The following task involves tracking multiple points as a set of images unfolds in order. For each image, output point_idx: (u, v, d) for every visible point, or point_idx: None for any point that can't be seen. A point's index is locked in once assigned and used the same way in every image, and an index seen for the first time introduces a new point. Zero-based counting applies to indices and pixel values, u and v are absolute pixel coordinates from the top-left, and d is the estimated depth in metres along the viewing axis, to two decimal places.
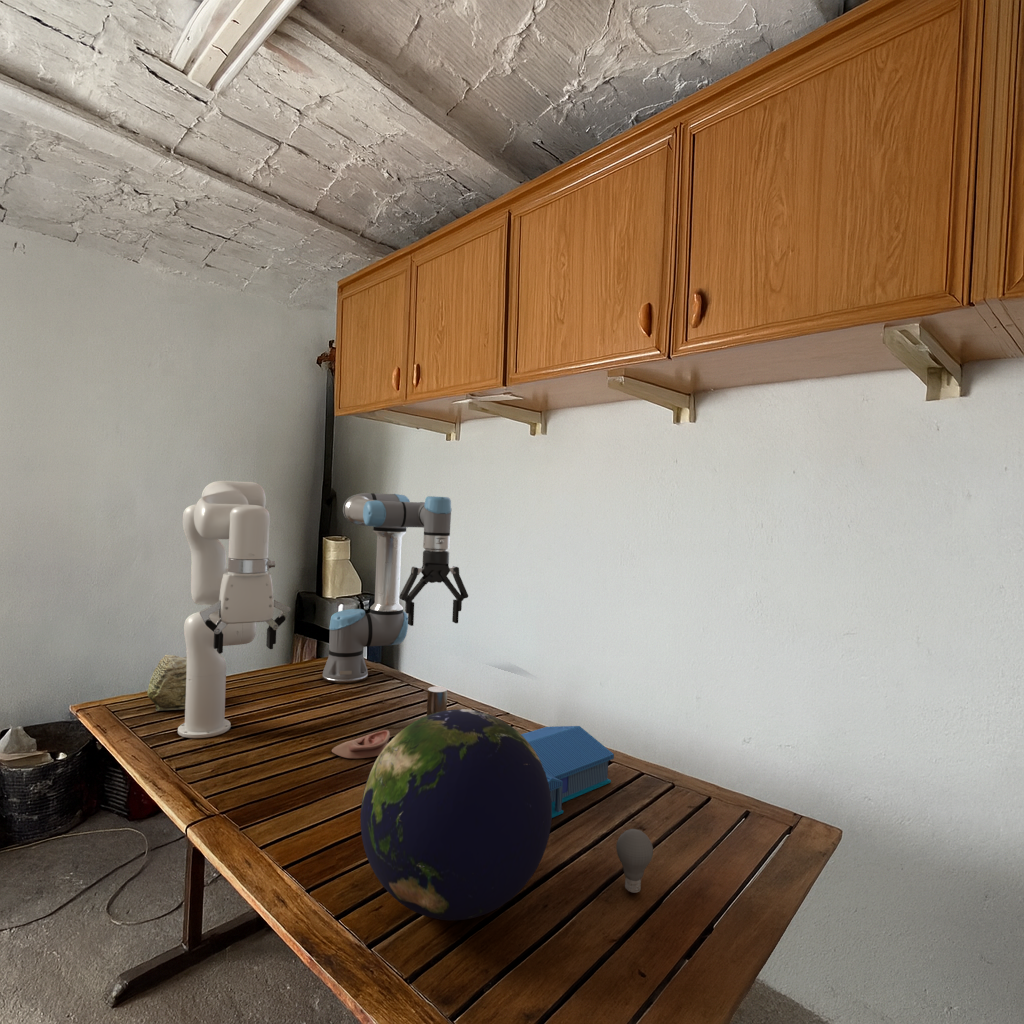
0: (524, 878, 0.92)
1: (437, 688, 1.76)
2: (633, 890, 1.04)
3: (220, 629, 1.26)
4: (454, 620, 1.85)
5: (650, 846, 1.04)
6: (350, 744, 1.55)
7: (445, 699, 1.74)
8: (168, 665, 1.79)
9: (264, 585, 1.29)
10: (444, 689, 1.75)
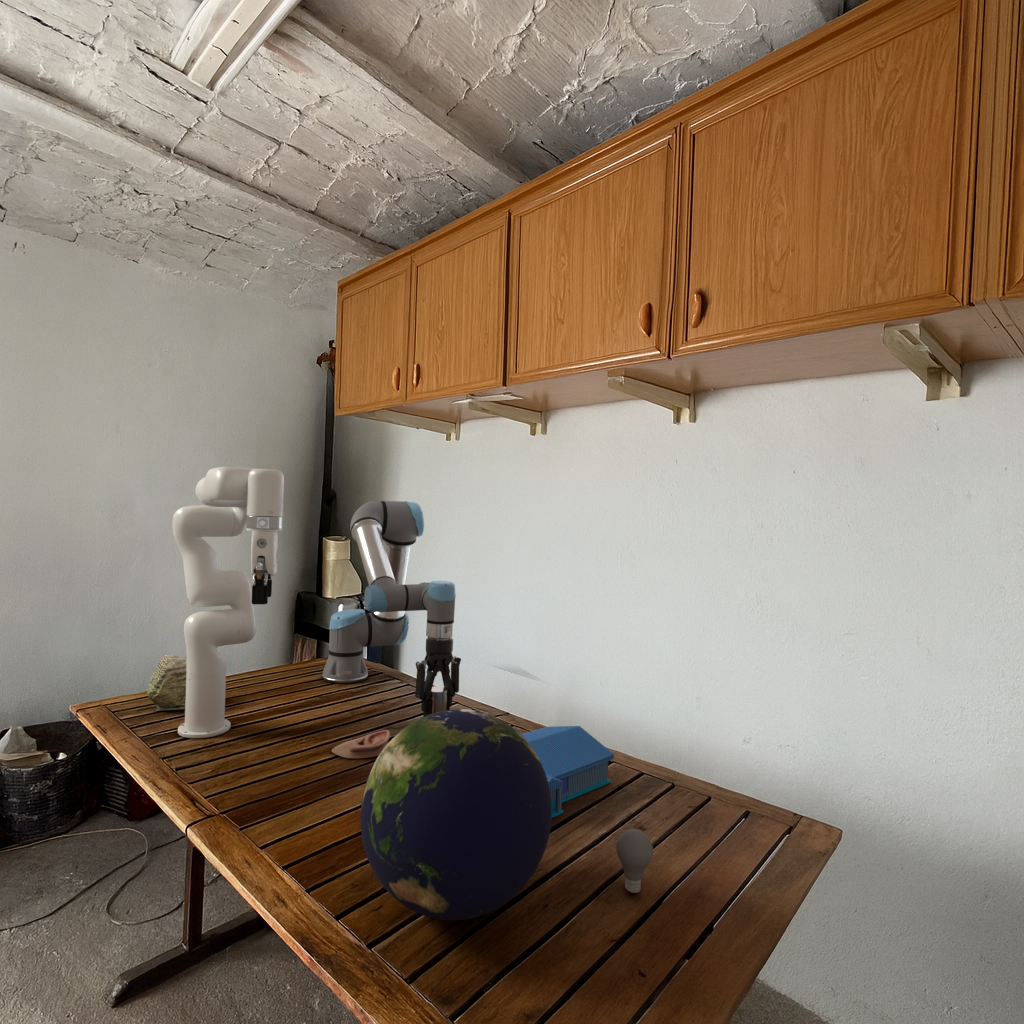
0: (524, 878, 0.92)
1: (437, 688, 1.76)
2: (633, 890, 1.04)
3: None
4: None
5: (650, 846, 1.04)
6: (350, 744, 1.55)
7: (445, 699, 1.74)
8: (168, 665, 1.79)
9: (251, 540, 1.38)
10: (444, 689, 1.75)
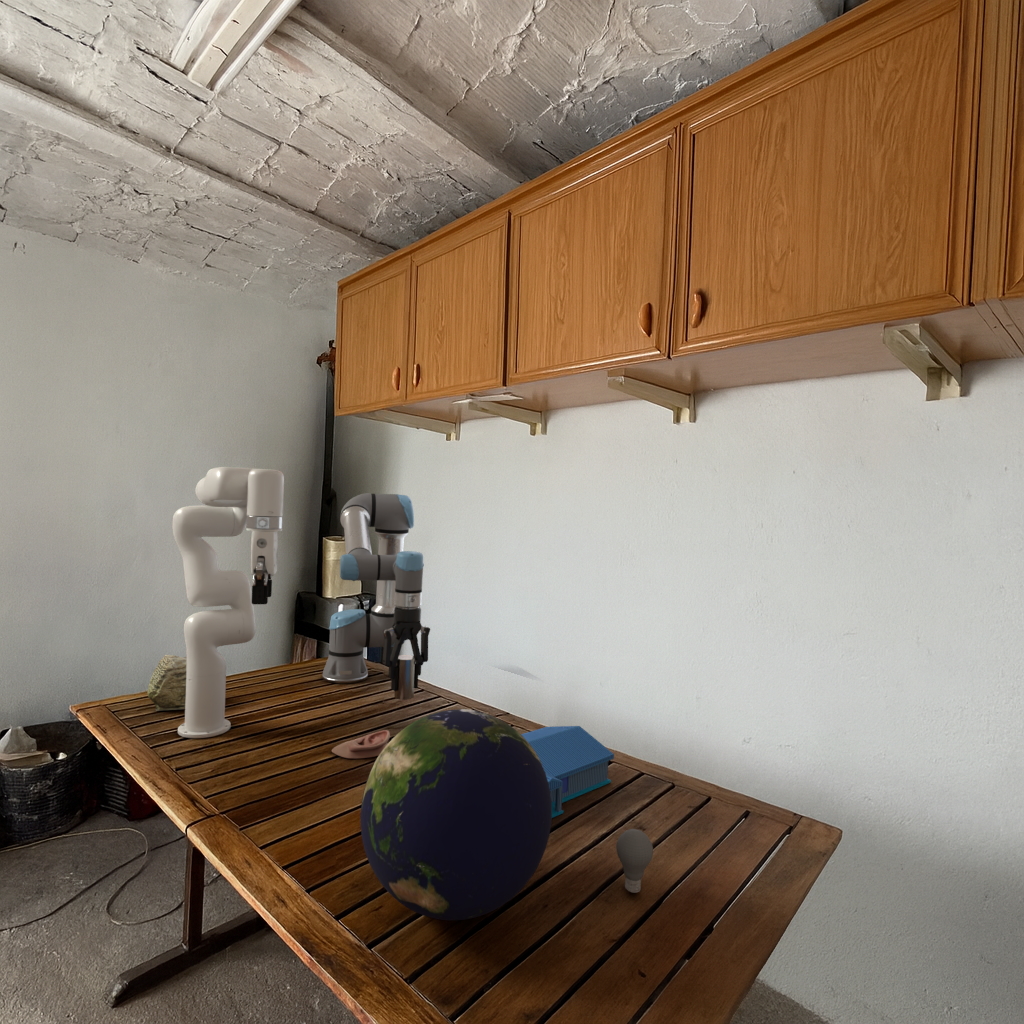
0: (524, 878, 0.92)
1: (406, 656, 1.79)
2: (633, 890, 1.04)
3: None
4: None
5: (650, 846, 1.04)
6: (350, 744, 1.55)
7: (412, 667, 1.77)
8: (168, 665, 1.79)
9: (251, 540, 1.38)
10: (412, 657, 1.78)
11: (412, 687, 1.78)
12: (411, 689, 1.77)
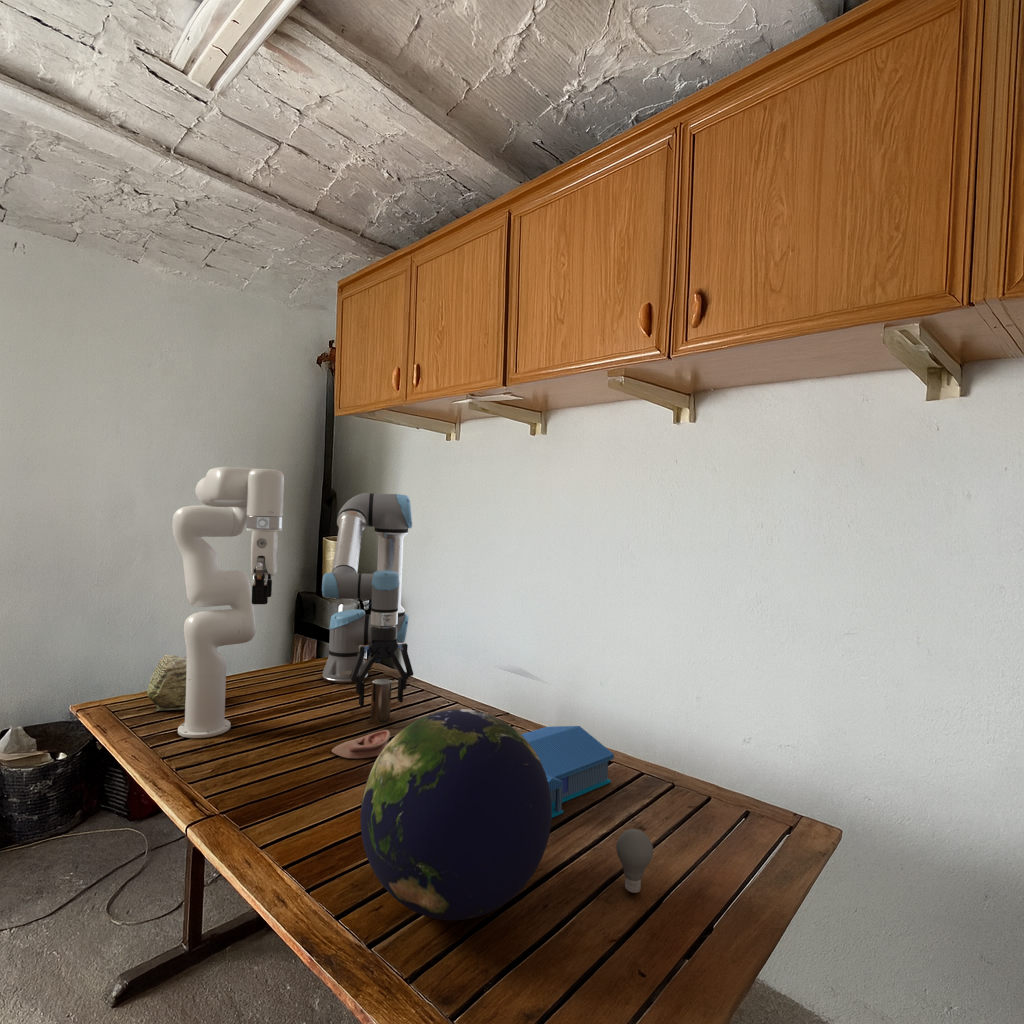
0: (524, 878, 0.92)
1: (382, 680, 1.81)
2: (633, 890, 1.04)
3: None
4: (399, 698, 1.82)
5: (650, 846, 1.04)
6: (350, 744, 1.55)
7: (387, 691, 1.79)
8: (168, 665, 1.79)
9: (251, 540, 1.38)
10: (387, 682, 1.80)
11: (387, 711, 1.79)
12: (386, 713, 1.79)
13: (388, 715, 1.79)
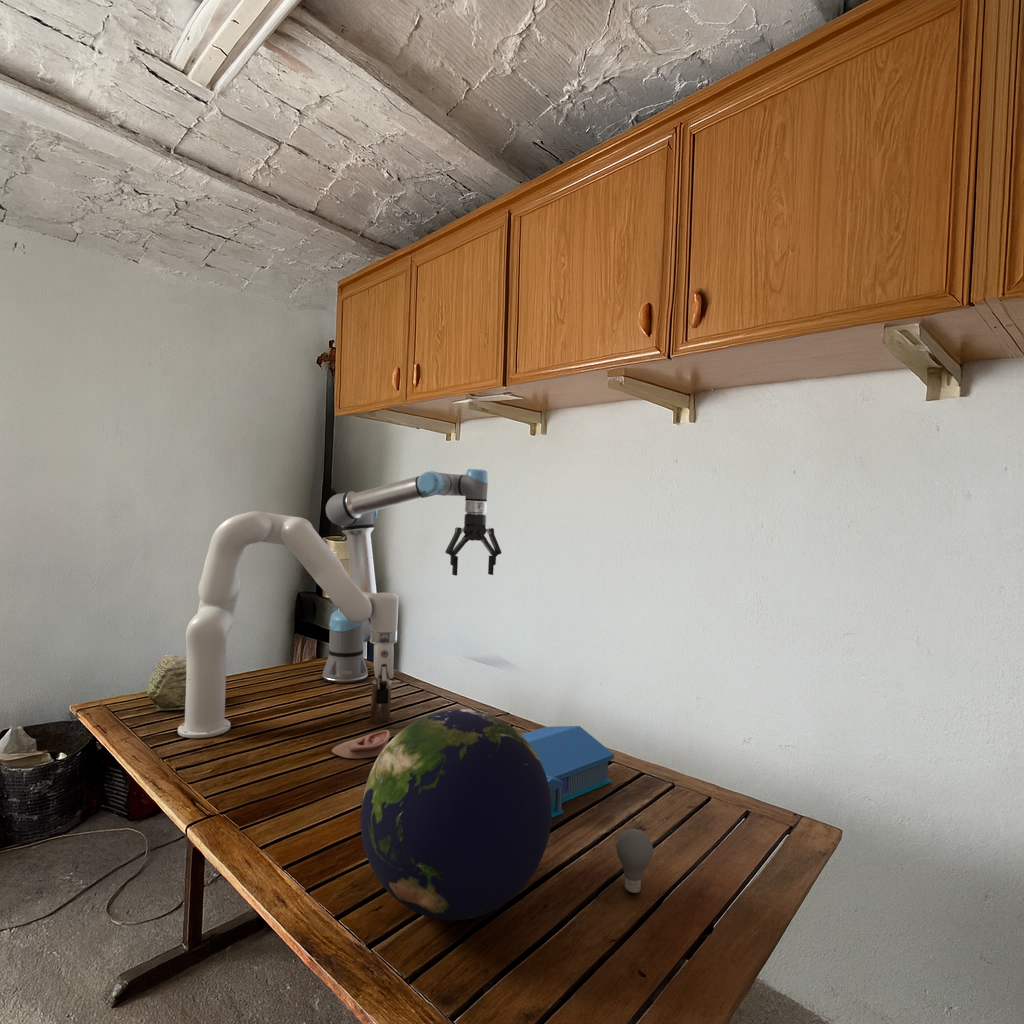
0: (524, 878, 0.92)
1: None
2: (633, 890, 1.04)
3: None
4: (490, 572, 2.23)
5: (650, 846, 1.04)
6: (350, 744, 1.55)
7: None
8: (168, 665, 1.79)
9: (375, 651, 1.77)
10: (388, 682, 1.80)
11: (387, 711, 1.79)
12: (386, 713, 1.79)
13: (388, 715, 1.79)
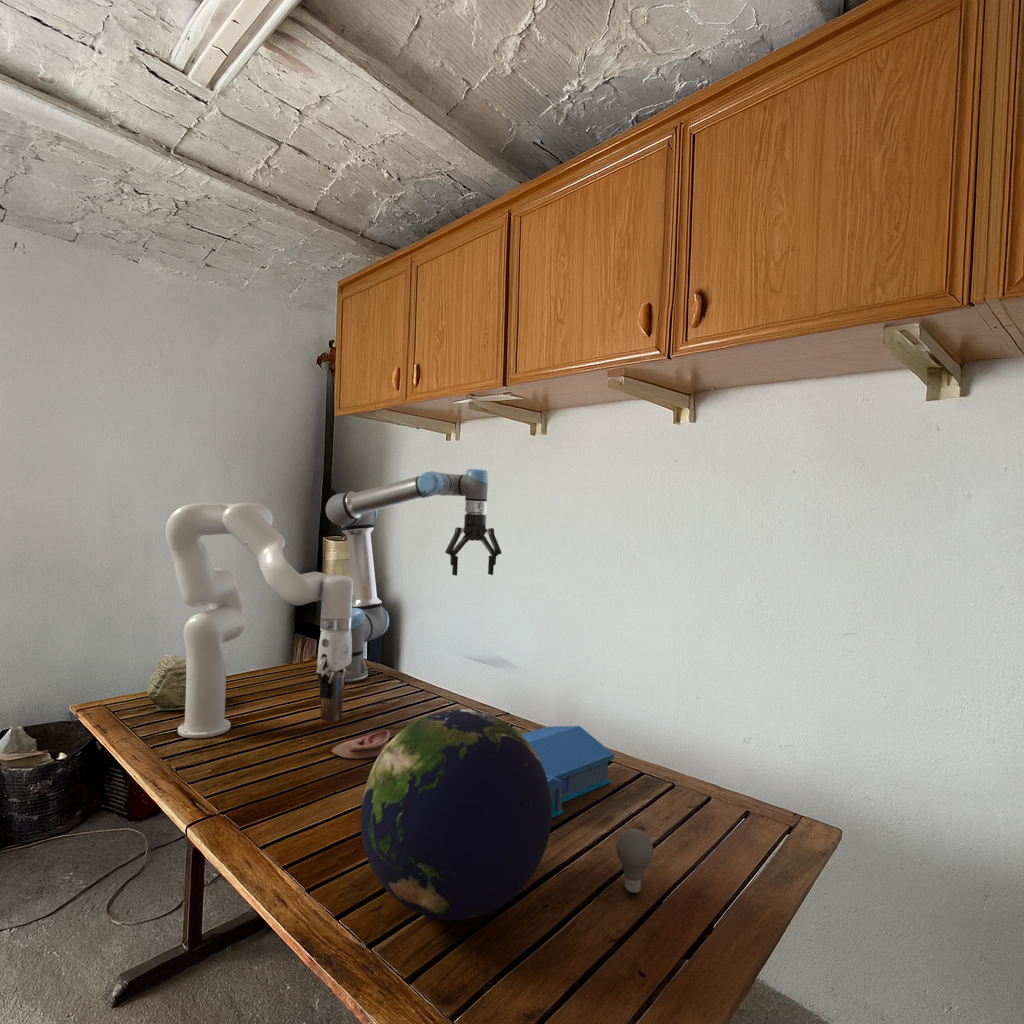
0: (524, 878, 0.92)
1: (336, 673, 1.62)
2: (633, 890, 1.04)
3: None
4: (490, 572, 2.23)
5: (650, 846, 1.04)
6: (350, 744, 1.55)
7: (334, 686, 1.59)
8: (168, 665, 1.79)
9: None
10: (337, 675, 1.61)
11: (334, 708, 1.60)
12: (332, 710, 1.59)
13: (335, 713, 1.60)
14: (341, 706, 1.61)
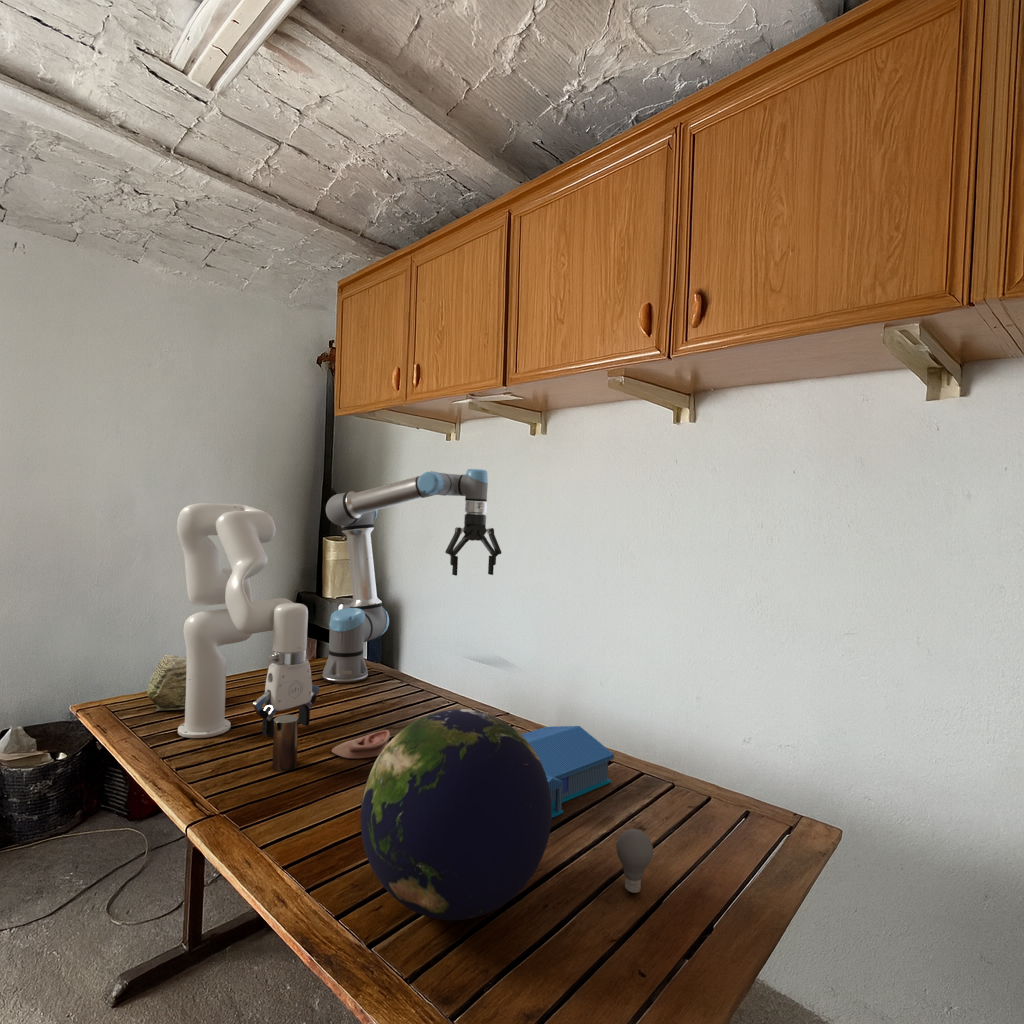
0: (524, 878, 0.92)
1: (289, 718, 1.48)
2: (633, 890, 1.04)
3: None
4: (490, 572, 2.23)
5: (650, 846, 1.04)
6: (350, 744, 1.55)
7: (282, 733, 1.45)
8: (168, 665, 1.79)
9: None
10: (287, 721, 1.46)
11: (282, 757, 1.45)
12: (280, 759, 1.45)
13: (284, 762, 1.45)
14: (292, 755, 1.46)
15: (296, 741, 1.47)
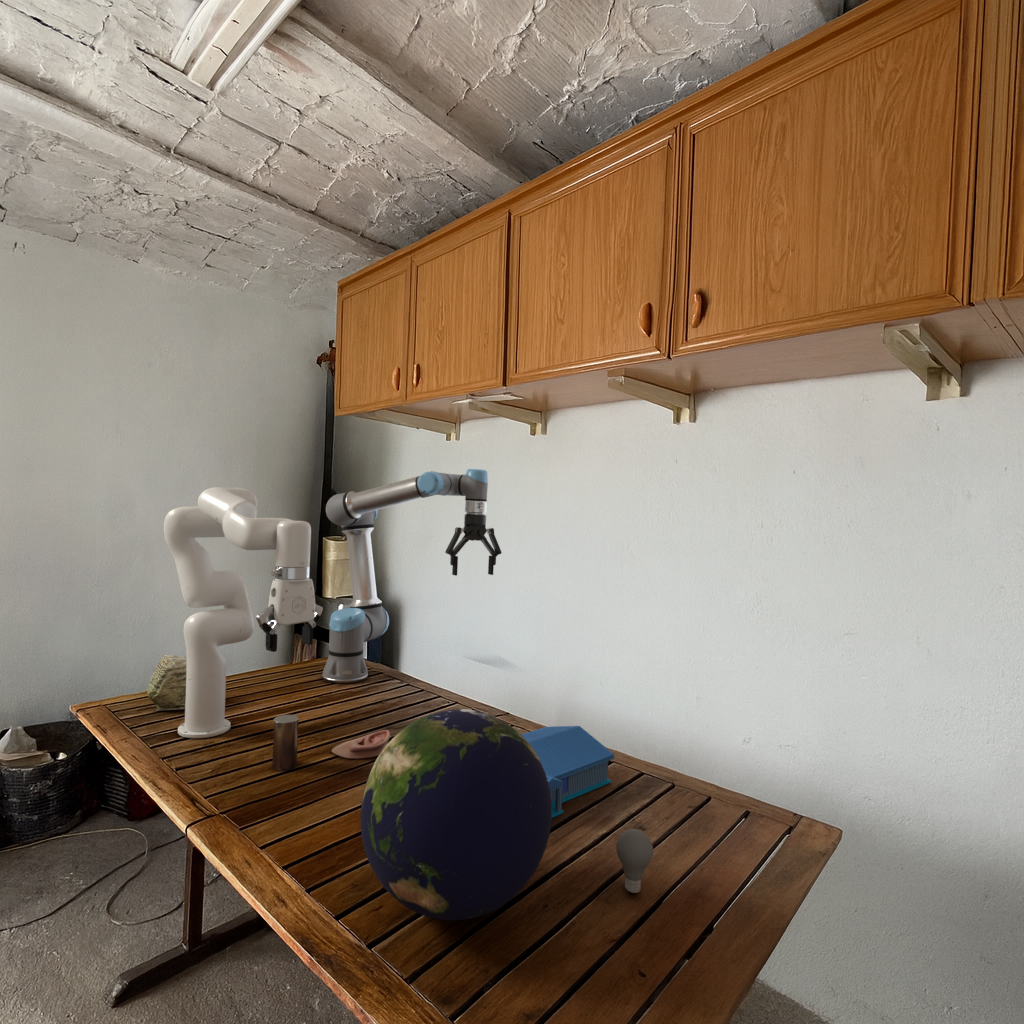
0: (524, 878, 0.92)
1: (289, 718, 1.48)
2: (633, 890, 1.04)
3: None
4: (490, 572, 2.23)
5: (650, 846, 1.04)
6: (350, 744, 1.55)
7: (282, 733, 1.45)
8: (168, 665, 1.79)
9: None
10: (287, 721, 1.46)
11: (282, 757, 1.45)
12: (280, 759, 1.45)
13: (284, 762, 1.45)
14: (292, 755, 1.46)
15: (296, 741, 1.47)
